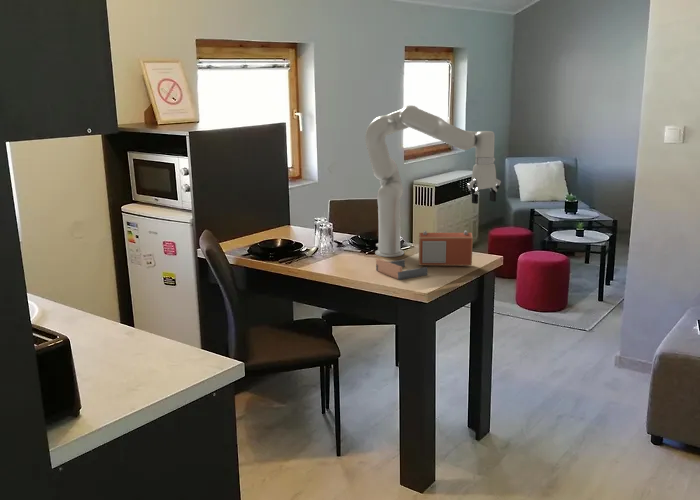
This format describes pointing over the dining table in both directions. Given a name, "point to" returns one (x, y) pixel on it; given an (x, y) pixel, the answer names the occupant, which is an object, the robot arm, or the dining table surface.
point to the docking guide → (398, 269)
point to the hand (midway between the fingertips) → (483, 202)
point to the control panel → (445, 248)
